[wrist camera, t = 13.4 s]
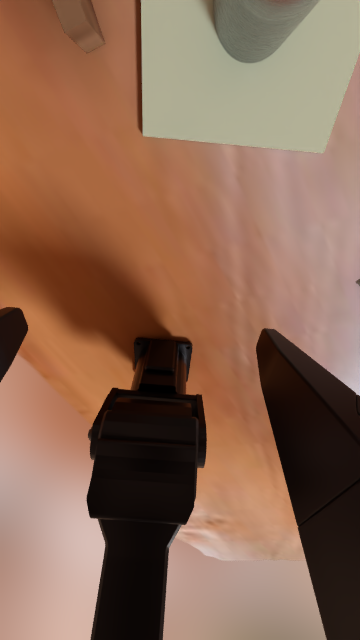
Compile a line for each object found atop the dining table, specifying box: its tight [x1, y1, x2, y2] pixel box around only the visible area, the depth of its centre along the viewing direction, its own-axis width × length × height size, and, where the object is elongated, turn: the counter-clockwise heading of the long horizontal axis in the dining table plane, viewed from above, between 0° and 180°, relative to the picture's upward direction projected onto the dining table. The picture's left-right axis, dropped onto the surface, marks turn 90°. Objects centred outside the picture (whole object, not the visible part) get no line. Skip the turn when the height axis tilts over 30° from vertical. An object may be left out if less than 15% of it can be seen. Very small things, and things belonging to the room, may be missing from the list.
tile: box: [141, 0, 360, 153], centre depth 12 cm, size 12×12×1 cm
